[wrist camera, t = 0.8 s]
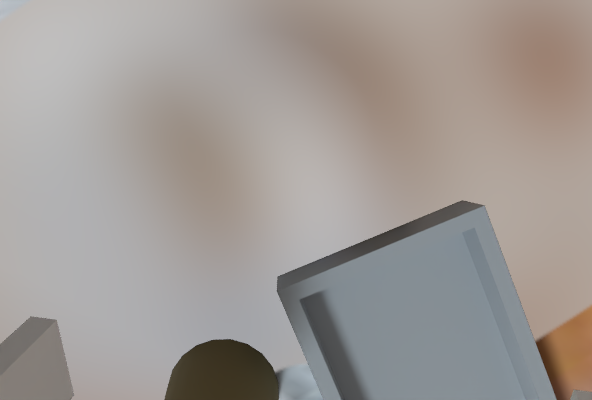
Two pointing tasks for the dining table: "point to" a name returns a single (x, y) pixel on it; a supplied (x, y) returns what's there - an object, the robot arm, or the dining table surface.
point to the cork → (223, 374)
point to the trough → (417, 316)
